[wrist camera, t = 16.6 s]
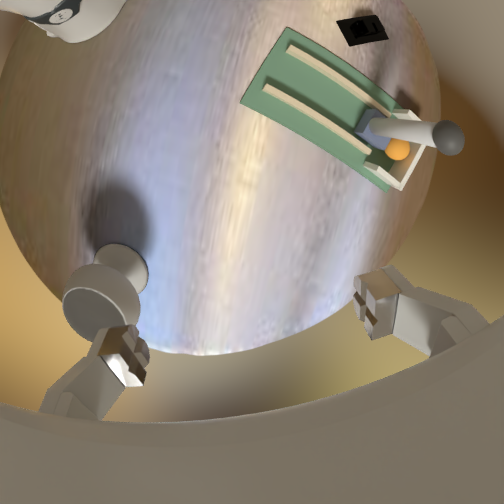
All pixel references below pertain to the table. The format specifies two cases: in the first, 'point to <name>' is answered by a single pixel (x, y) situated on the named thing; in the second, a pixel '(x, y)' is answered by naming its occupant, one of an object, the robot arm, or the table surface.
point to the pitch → (319, 101)
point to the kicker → (410, 132)
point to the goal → (399, 168)
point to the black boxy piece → (362, 30)
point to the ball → (397, 149)
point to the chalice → (105, 291)
